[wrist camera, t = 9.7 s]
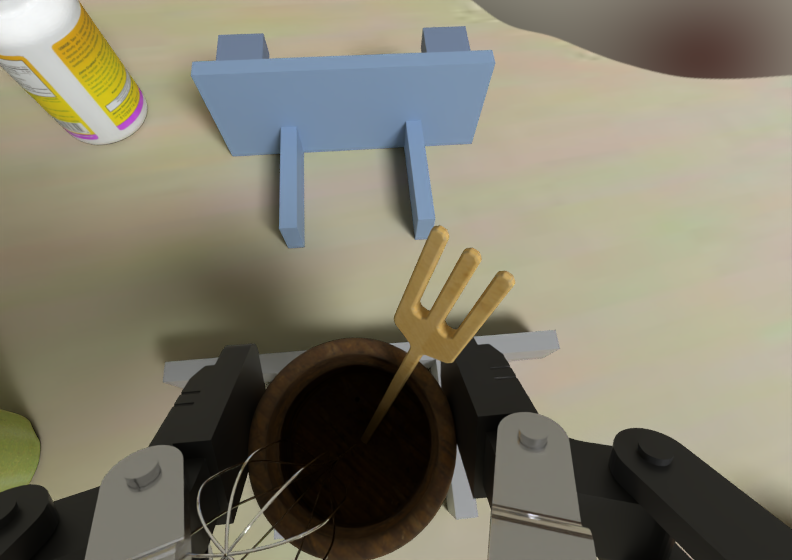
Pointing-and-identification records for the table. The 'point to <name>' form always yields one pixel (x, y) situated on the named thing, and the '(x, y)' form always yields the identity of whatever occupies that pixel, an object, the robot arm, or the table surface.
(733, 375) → the table surface
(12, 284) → the table surface
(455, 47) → the blue rail with prongs
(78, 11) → the supplement bottle
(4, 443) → the plant pot
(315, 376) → the utensil holder
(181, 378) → the grey rail with prongs
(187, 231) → the table surface
